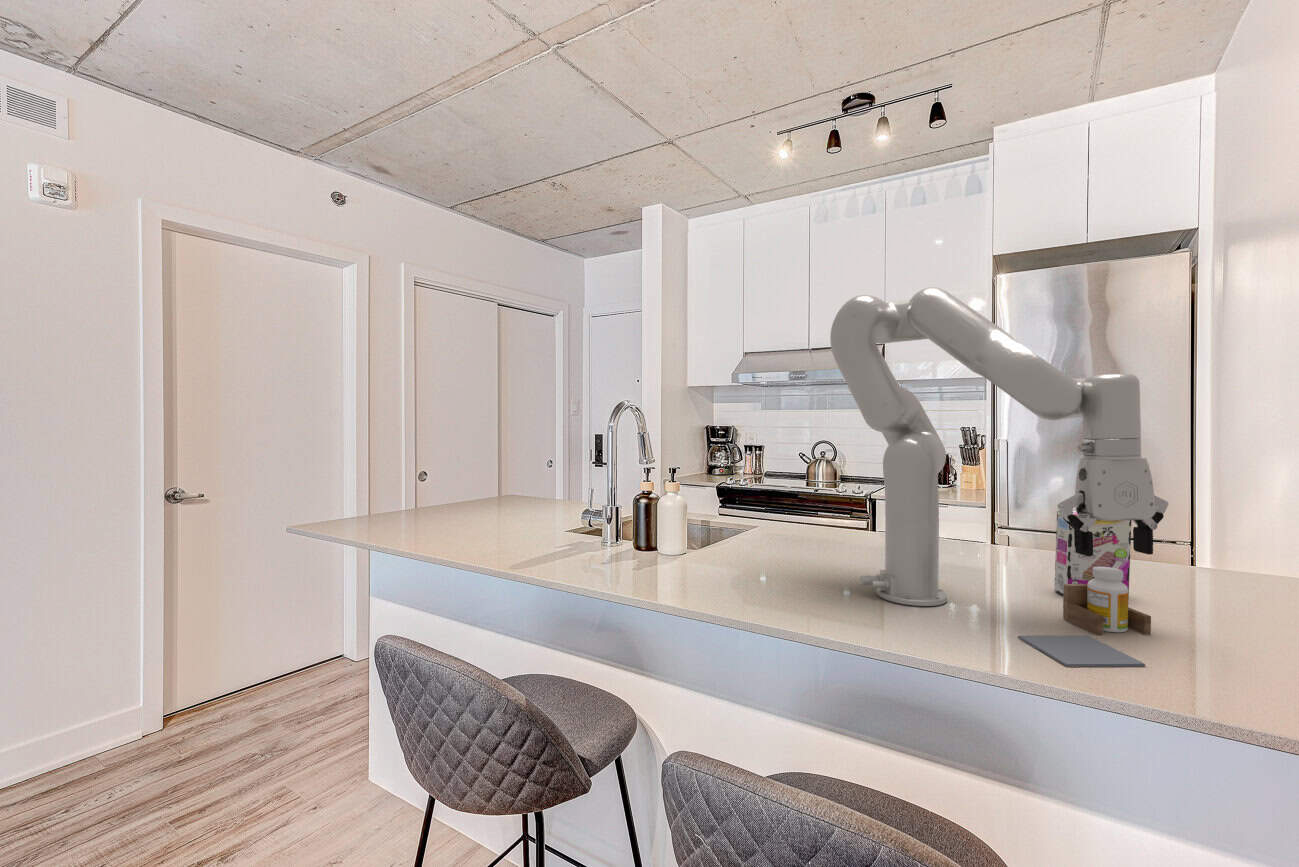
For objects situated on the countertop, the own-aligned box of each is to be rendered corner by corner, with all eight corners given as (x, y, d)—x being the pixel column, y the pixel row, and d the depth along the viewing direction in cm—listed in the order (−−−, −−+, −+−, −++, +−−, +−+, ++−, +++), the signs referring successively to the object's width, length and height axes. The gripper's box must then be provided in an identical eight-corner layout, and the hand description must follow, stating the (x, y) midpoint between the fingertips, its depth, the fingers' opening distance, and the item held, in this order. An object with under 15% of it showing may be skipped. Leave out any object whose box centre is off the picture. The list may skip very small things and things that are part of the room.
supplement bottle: (1119, 623, 101) (1120, 566, 100) (1133, 634, 96) (1134, 574, 95) (1081, 620, 103) (1082, 564, 102) (1093, 631, 97) (1094, 571, 97)
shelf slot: (1096, 635, 96) (1097, 597, 95) (1063, 618, 103) (1063, 584, 103) (1150, 634, 96) (1151, 597, 95) (1112, 618, 103) (1113, 583, 103)
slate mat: (1066, 667, 84) (1066, 664, 84) (1017, 637, 95) (1018, 635, 95) (1145, 666, 84) (1145, 663, 84) (1087, 637, 95) (1087, 635, 95)
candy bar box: (1068, 599, 114) (1069, 513, 114) (1053, 591, 119) (1054, 509, 119) (1131, 601, 113) (1133, 514, 113) (1113, 593, 118) (1115, 510, 118)
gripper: (1075, 452, 94) (1077, 560, 95) (1184, 448, 94) (1186, 557, 95) (1043, 450, 102) (1045, 550, 102) (1145, 447, 102) (1147, 547, 102)
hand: (1113, 553), depth 98 cm, fingers open, 9 cm apart
